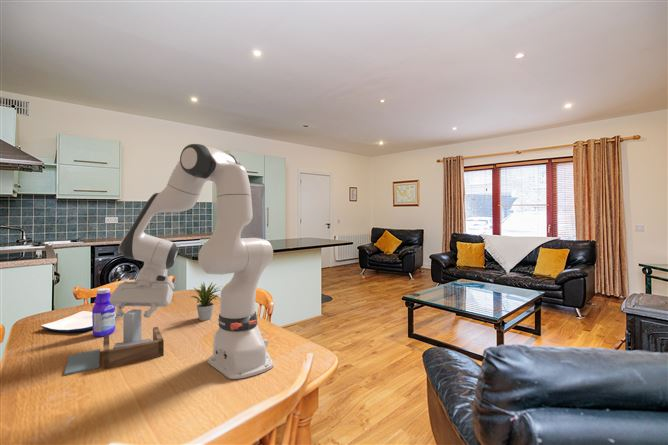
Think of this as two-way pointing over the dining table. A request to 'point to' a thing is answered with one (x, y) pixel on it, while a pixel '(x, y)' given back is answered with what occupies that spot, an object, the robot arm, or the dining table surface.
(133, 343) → the offcut stack
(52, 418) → the dining table surface
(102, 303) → the bottle
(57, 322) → the plate
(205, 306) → the house plant
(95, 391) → the dining table surface
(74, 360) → the slate mat
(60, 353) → the dining table surface
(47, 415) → the dining table surface
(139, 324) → the grey rectangular block
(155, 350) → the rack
